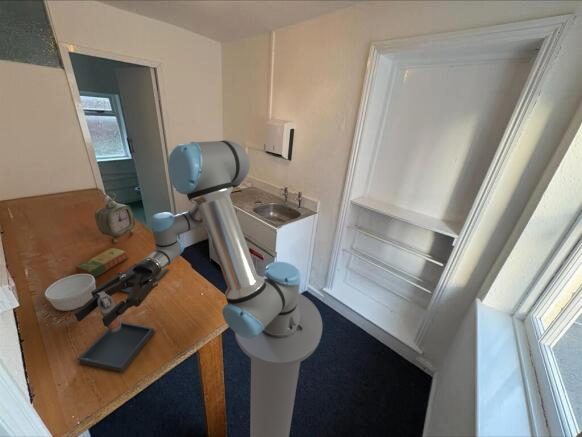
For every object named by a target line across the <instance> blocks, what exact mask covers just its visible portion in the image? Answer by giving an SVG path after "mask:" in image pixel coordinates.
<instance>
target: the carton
mask: <svg viewBox="0 0 582 437" xmlns="http://www.w3.org/2000/svg"><path fill="white" fill-rule="evenodd" d="M127 259H128V256H127V253H126V251H125V250H123V249H119V248H116V247H110V248H107V249H106V250H104V251H102V252H100V253H98V254H97V255H95V256H93V257H91V258H89V259H87V260H85V261H83V262H81V263H79V264H77V265H75V271H76V274H90V275H92V276H93V277H94V279H95V278H96V277H98V276H100V275H102V274H103V273H105V272H106V271H108V270H110V269H111V268H113V267H115V266H116V265H118V264H119V263H121V262H123V261H125V260H127Z"/></svg>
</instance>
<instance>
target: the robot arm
mask: <svg viewBox="0 0 582 437" xmlns="http://www.w3.org/2000/svg"><path fill="white" fill-rule="evenodd" d="M250 165H251V162H250V157H249V154H248V153H247V151H246V149H245V148H244V147H243V146H242V145H240V144H239V143H237V142H236V141H235V142H234V141H232V140H225V139H224V140H215V141H214V140H213V141H191V142H188V143H180V144H177V145H176V146H174V147H173V148H172V149H171V151H170V153H169V155H168V162H167V169H168V170H167V171H168V177H169V180H170V183H171V185H172V186H173V188H174V189H175V190H176V192H177V193H179V194H180V195H186V197H187V199H188V201H189V202H190V203H192V205H191V206H190V208H189V209H188V210H187V211H185V212H181V213H178V214H173V213H171V212H166V211H165V212H158V213H155V214H154V215H152V216H151V218H150V224H151V231H152V235H153V239H154V244H155V249H154V250H153V251H152V252H151V253H149V254H148V255H147V256H145V257H144V258H143V259H142V260H141V261H139V262H138V263H136V264H137V265H136V266H135V267H134V269H133V271H132V272H130V273H127V274H124V273H122V272H121V271H119V272H117V273H116V274H115V275H114V276H113V277H111V278H110V279H109V280H107V281H105V282H103V283H102V284H101V285H99V286H98V287H96V289H95V290H93V291H92V292H91V294H92V296H93V298H92V299H90V300H89V301H88V302H87V303H85V304H84V306H82V307H80V308H79V309H78V310H76V311H75V313H74V316H75V319H76V321H77V322H81V321H83V320H84V319H85V318H87V316H89V315H90V314H91V313H92V312H93V311H95V309H97V308H99V307H98V298H99V297H100V294H99V293H101V292H105V294H107V295H109V296H110V297H112V296H114V295H115V294H117V293H118V292H120V291H121V290H122V289H127V288H129V287H133V288H132V290H131V292H130V293H128V295H127V297H124V300H121V301H119V303H118V304H115V307H114V308H113V309H112V310H111V311H110V312H109V313H108V314H107V315H106V316H104V317H103V316H102V318H101V320H102V324H103V327H105V328H107V326H109V325H110V324H111V323H112V322H113V321H114V320H115V319H116V318H117V317H118V316H122V315H123V314H124V313H126V312H127V310H129V309H130V308H132V307H135V308H138V307H140V306H141V305H142V303H143V302H144V301H145V299H146V298H147V297H148V296H149V294H150V293H151V292H152V290H154V289H155V288H157V287H158V286H159V284H158V283H159V282H158V281H157V279H156V277H157V276H158V275H159V274H160V273H161V272H162V271H163V270H164V269H167V268H168V267H169V266H170V265H171V264H172V263H173V262H174V261H175V260H176V259H178V258H179V257H180V255H181V254H182V253H183V252H184V251H185V244H184V243H183V241H182V239H180V238H179V237H178V236H180V235H182V234H185V233H187V232H190V231H192V230H196V229H198V228H201V227H205V230H206V232H207V235H208V237H209V241H210V243H211V245H212V248H213V252H214V254H215V256H216V259H217V262H218V264H219V267H220V268H221V269H220V270H221V273H222V275H223V278H224V280H225V283H226V286H227V288H226V290H225V293H224V297H225V300H226V302H227V303H226V304H225V305H224V306H223V308H222V311H221V312H222V318H223V320H224V322H225V323H226V324H227V326H228V328H230V329H231V330H232V331H233V332H234V334H235V333H237V334H238V335H239V336H241V337H243V338H246V339H252V338H254V337H256V336H257V335H258V334H259V333H260V332H262V331H263V332H264V333H265V334H267V335H269V336H271V337H275V338H284V337H288V336H290V335H292V334H293V333H295V332H296V330H297V329H298V327H299V328H300V329H301V330H302V329H303V328H302V327H301V326H300V325H299V324H300V313H299V309H298V306H297V300H298V293H299V294H300V292H299V291H300V284H301V272H300V270H299V268H297V267H296V266H295V265H293V264H292V263H290V262H285V261H273V262H271V263H269V264H267V265H266V267H265V268H264V276H261V275H258V273H257V271H256V267H255V264H254V261H253V259H252V255H251V253H250V250H249V247H248V244H247V240H246V238H245V235H244V233H243V230H242V227H241V223H240V221H239V219H238V215H237V213H236V212H237V211H236V209H235V207H234V204H233V201H232V198H231V194H232V192H233V190H234V188H237V187H239V186H240V185H241V184H242V183H243V182H244V180H245V179H246V178H247V176H248V175H249V172H250V167H251V166H250ZM125 284H126V285H125ZM144 285H145V286H144ZM143 286H144V288H143V289H142V287H143ZM141 289H142V290H141Z"/></svg>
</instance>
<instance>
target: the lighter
mask: <svg viewBox="0 0 582 437" xmlns="http://www.w3.org/2000/svg"><path fill="white" fill-rule="evenodd" d="M99 294H100V297H99V298H98V307H97V308H98V309H99V312H100V314H101V316H102V318H103V317H104V316H106V315H107V314H108V313H109V312H110V311H111V310H112V309H113V308H114V307H115V306H116V304H115V301H114V299H113V297H112V296H109V295H107V294H105V292H101V293H99ZM119 316H120V315H119ZM119 316H118V317H117V318H116V319H115V320H114V321H113V322H112V323H111V324H110V325H109V326H107V327H106V329H107V330H109V331H110V332H116V331H118V330H119V329H120V328H121V322H122V321H121V318H120V317H119Z"/></svg>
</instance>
